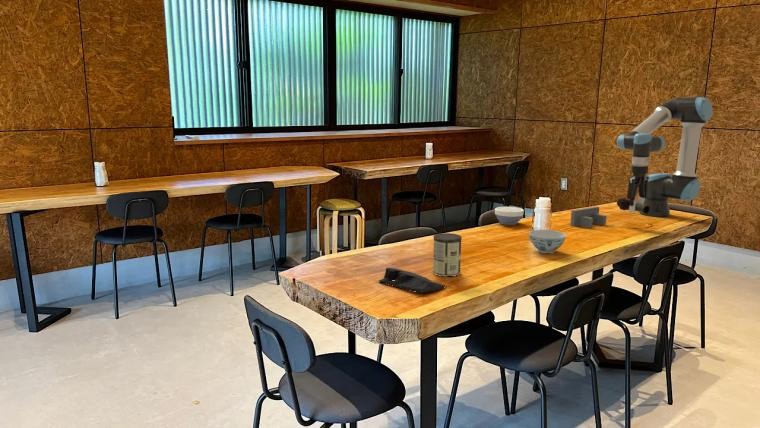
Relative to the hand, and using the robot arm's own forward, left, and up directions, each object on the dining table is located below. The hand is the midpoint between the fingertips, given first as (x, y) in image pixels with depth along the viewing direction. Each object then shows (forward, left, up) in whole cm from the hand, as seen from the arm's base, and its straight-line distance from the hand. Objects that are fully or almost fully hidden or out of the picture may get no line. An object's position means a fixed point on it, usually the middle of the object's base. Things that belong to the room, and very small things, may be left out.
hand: (635, 211), depth 275 cm
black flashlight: (0, -3, -1) cm, 3 cm away
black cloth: (+145, +8, -10) cm, 145 cm away
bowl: (+46, -41, -9) cm, 62 cm away
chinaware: (+72, +5, -9) cm, 72 cm away
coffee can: (+127, +5, -9) cm, 127 cm away
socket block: (+13, -16, -9) cm, 22 cm away
